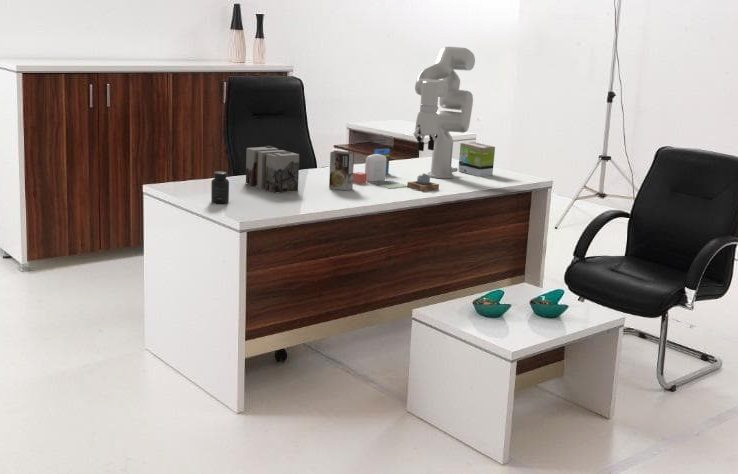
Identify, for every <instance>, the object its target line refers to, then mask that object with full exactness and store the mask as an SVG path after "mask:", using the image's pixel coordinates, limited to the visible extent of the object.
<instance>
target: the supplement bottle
mask: <svg viewBox="0 0 738 474" xmlns="http://www.w3.org/2000/svg"><path fill="white" fill-rule="evenodd" d="M227 176H228V175H227V172H226V171H221V170H219V171H214V172H213V179H212V180H211V182H210V183H211V184H210V185H211V186H210V187H211V188H210V189H211V191H210V192H211V194H210V195H211V197H210V198H211V199H210V200H211V203H212V204H214V203H216V204H215V205H225V203H226V204H228V203H229V202H230V201H229V200H230V180H229V179H227Z"/></svg>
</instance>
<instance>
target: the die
mask: <svg viewBox="0 0 738 474" xmlns="http://www.w3.org/2000/svg"><path fill="white" fill-rule="evenodd" d="M366 178H367V173H365V172H359V171H357V172H353V184H357V185H363V184H367V181H366Z"/></svg>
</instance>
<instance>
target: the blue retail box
mask: <svg viewBox="0 0 738 474" xmlns="http://www.w3.org/2000/svg"><path fill="white" fill-rule="evenodd" d="M390 149H391V148H374V149H373V151H374V152H373V154H380V155H384V156H386V160H387V161H386V175H387V174H389V169H390V167H389V166H390Z"/></svg>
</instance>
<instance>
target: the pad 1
mask: <svg viewBox="0 0 738 474" xmlns="http://www.w3.org/2000/svg"><path fill="white" fill-rule="evenodd" d="M397 183H399V182H397V181H394V180H390V179H389V180H385V181H370V182H369V184H372V185H375V186H378V187H381V186H380V185H387V184H397Z"/></svg>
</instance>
